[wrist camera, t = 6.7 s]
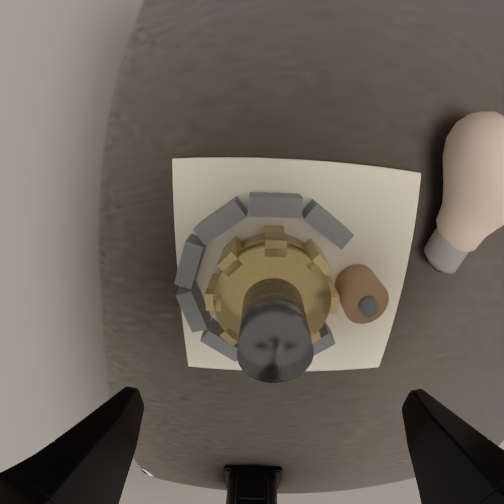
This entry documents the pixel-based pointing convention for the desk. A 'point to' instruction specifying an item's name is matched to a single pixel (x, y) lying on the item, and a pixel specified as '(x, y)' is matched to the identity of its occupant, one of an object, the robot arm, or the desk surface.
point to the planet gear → (272, 302)
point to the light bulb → (469, 189)
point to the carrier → (303, 228)
